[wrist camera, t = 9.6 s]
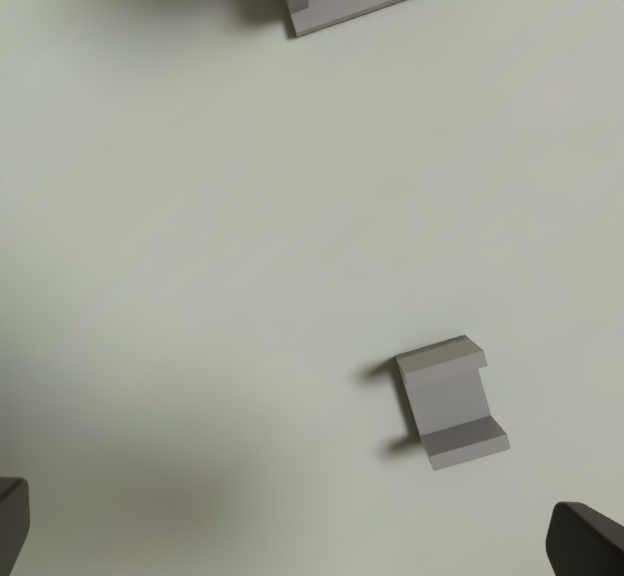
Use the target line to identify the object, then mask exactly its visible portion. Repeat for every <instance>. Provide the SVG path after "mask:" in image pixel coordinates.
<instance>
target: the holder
mask: <svg viewBox="0 0 624 576" xmlns="http://www.w3.org/2000/svg"><path fill="white" fill-rule="evenodd" d="M401 1H404V0H286V3H287V6H288V10H289V13H290V16H291V20H292V23H293V26H294V29H295V33H296V36H297V37H299V36H302V35H305V34H308V33H311V32H314V31H317V30H320V29H322V28H325V27H328V26H331V25H334V24H337V23H340V22H343V21H346V20H349V19H352V18H354V17H357V16H360V15H363V14H366V13H369V12H372V11H375V10H378V9H381V8H383V7H386V6H389V5H392V4H395V3H398V2H401Z"/></svg>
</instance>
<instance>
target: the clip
mask: <svg viewBox="0 0 624 576" xmlns="http://www.w3.org/2000/svg"><path fill="white" fill-rule="evenodd" d="M395 358H396V361H397V364H398V367H399V371H400V374H401V377H402V380H403V384H404V387H405V390H406V394H407V397H408V400H409V403H410V407H411V410H412V413H413V417H414V420H415V423H416V426H417V430H418V433H419V436H420V439H421V443H422V445H423V447H424V450H425V452H426V454H427V456H428V459H429V461H430V463H431V465H432V468H433V470H434V471H435V470H439V469H442V468H446V467H449V466H453V465H456V464H460V463H463V462H467V461H470V460H474V459H477V458H480V457H484V456H487V455H491V454H494V453H498V452H501V451H505V450H508V449H511V448H510V444H509V441H508V437H507V434H506V433H505V432H504V431H503V429H502V428H501V427H500V426H499V425H498V423H497V422H496V421H495V420H494V419H493V417H492V416H491V414H490V411H489V407H488V404H487V400H486V396H485V393H484V389H483V386H482V382H481V379H480V375H479V372H478V368H482V367H485V366H488V365H487V362H486V358H485V355H484V351H483V350H482V349H481V348H480V347H478V346H477V345H476V344H475V343H474V342H473V341H471V340H470V339H469V338H468V337H467V336H466V335H463V336H460V337H457V338H453V339H450V340H447V341H443V342H440V343H437V344H434V345H430V346H427V347H424V348H420V349H417V350H414V351H410V352H407V353H404V354H401V355H397V356H395Z"/></svg>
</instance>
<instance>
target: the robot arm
mask: <svg viewBox="0 0 624 576" xmlns="http://www.w3.org/2000/svg"><path fill="white" fill-rule="evenodd" d="M29 525H30V510H29V487H28V483H27V480H26V479H24V478H22V477H0V576H9V575H10V573H11V571H12V569H13V566H14V564H15V562H16V560H17V557H18V555H19V553H20V551H21V548H22V546H23V544H24V542H25V539H26V537H27V534H28V531H29ZM546 552H547V556H548V558H549V561H550V563H551V566H552V568H553V571H554V573H555V575H556V576H624V526H622V525H620V524H618V523H617V522H615V521H613V520H611V519H610V518H608V517H606V516H604V515H603V514H601V513H599V512H597V511H595V510H594V509H592V508H590V507H588V506H587V505H585V504H583V503H580V502H562V501H561V502H558V503H557V504H556V505H555V506H554V509H553V513H552V517H551V521H550V525H549V529H548V533H547V537H546Z"/></svg>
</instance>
